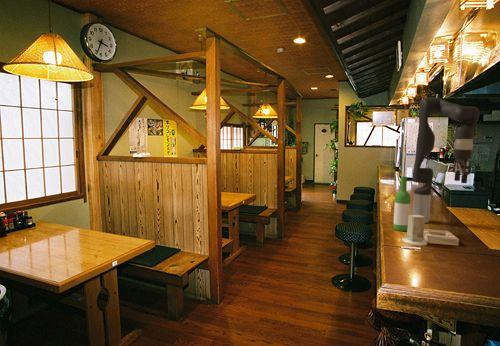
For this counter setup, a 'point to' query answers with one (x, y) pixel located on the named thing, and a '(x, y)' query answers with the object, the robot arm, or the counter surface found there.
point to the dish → (414, 242)
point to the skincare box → (415, 227)
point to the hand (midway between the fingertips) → (460, 182)
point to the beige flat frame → (440, 237)
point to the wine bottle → (402, 207)
